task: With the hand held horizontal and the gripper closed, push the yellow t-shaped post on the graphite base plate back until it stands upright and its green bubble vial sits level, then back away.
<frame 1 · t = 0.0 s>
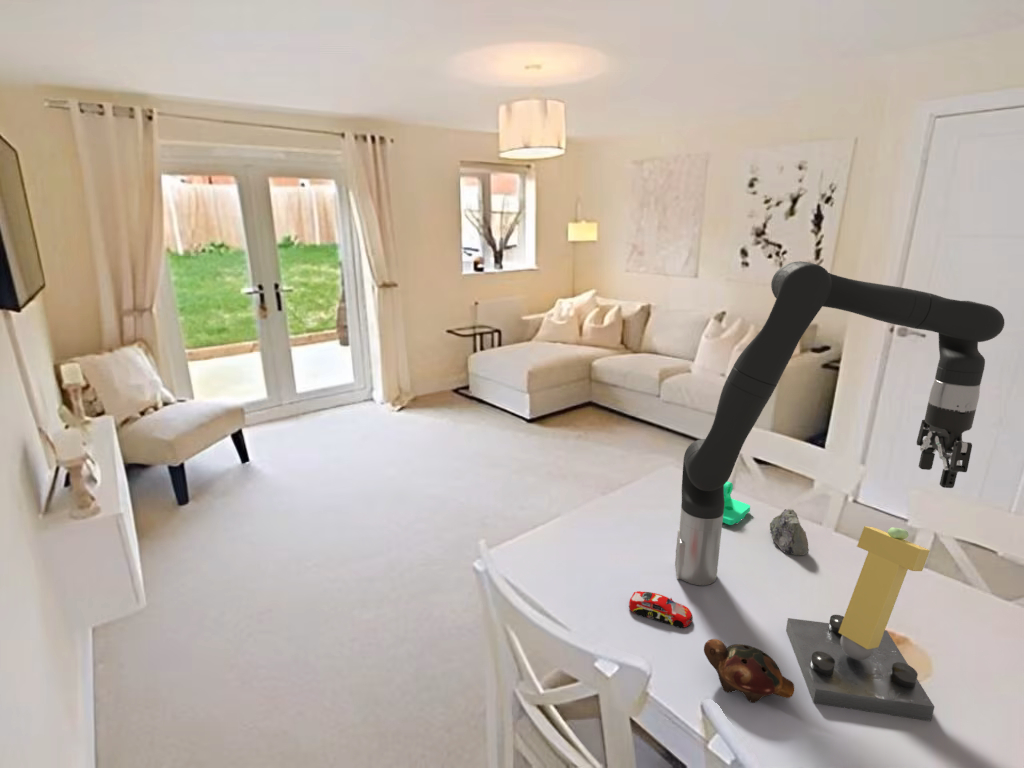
hand: (935, 477, 112), 29 cm above the table, tool pointing down, fingers open, 8 cm apart
yellow t-shaped post: (875, 593, 99), point 15 cm above the table, hinge at 22.0°
camera mount: (728, 516, 155), on the table
mineral rock: (787, 542, 142), on the table
race car: (659, 615, 116), on the table
decorative turtle: (744, 689, 98), on the table
tribrach base: (851, 671, 101), on the table
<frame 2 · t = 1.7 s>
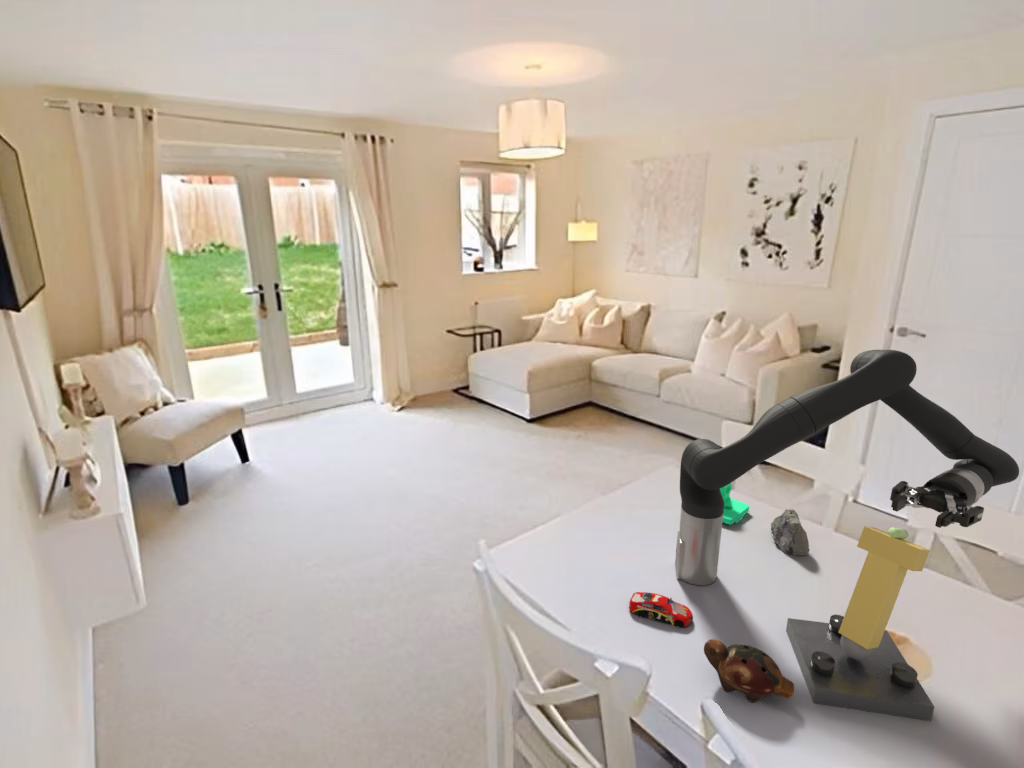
hand: (916, 514, 101), 28 cm above the table, tool horizontal, fingers open, 6 cm apart
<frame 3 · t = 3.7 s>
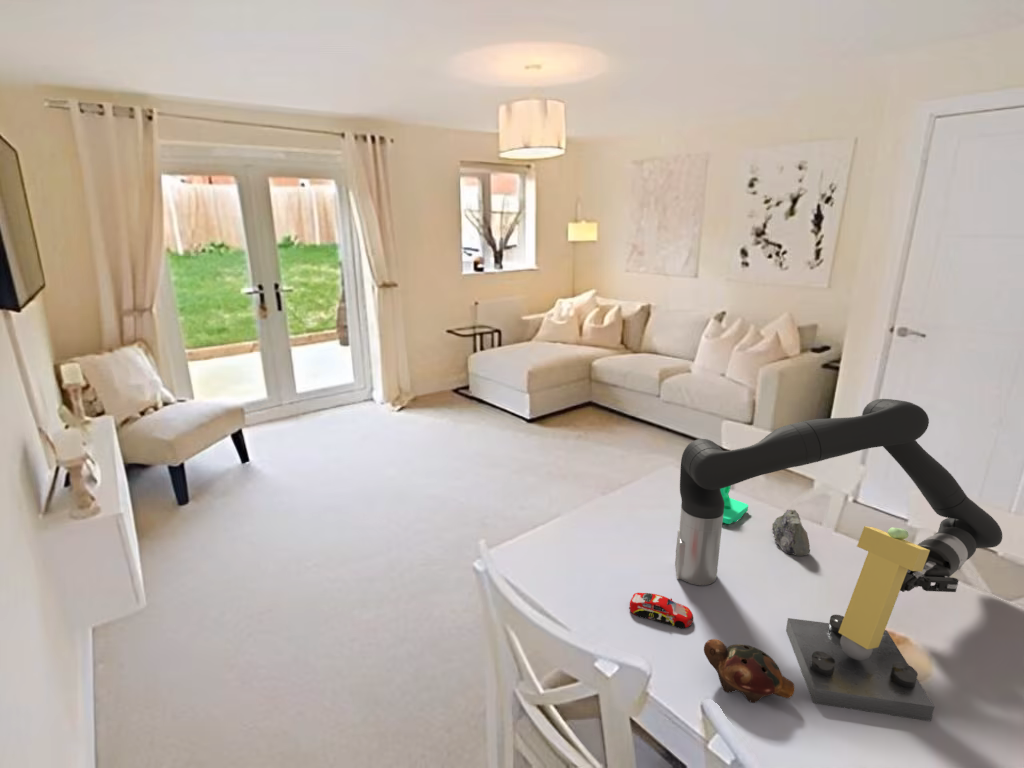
hand: (899, 586, 105), 13 cm above the table, tool horizontal, fingers closed
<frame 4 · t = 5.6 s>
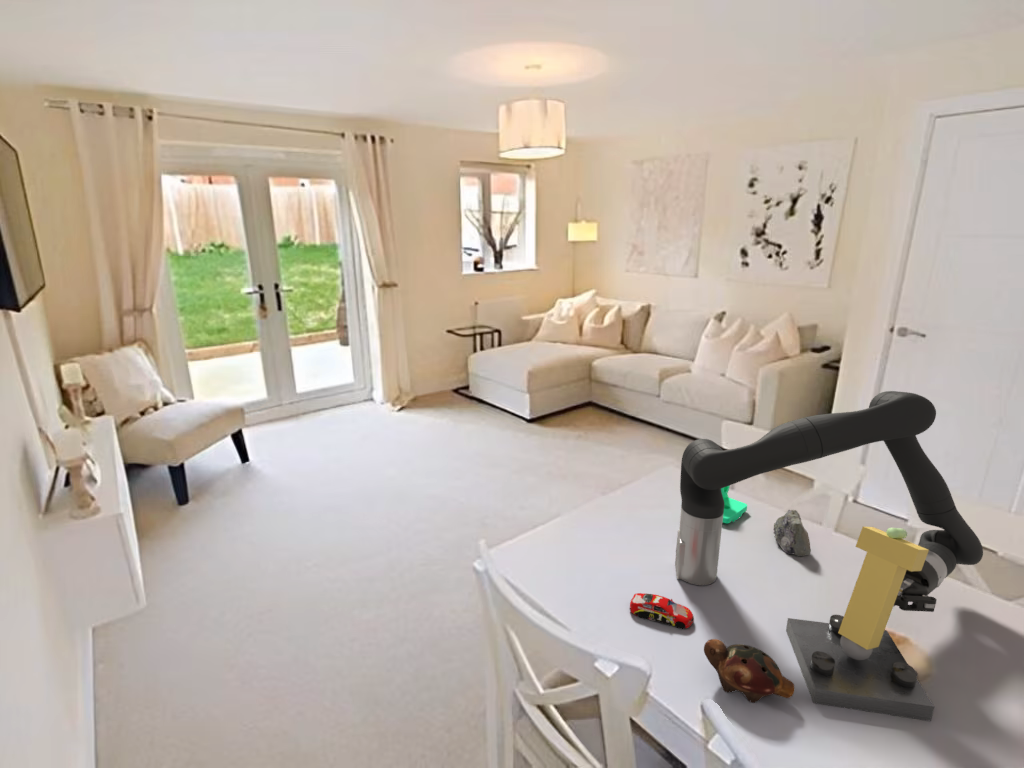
hand: (876, 605, 100), 12 cm above the table, tool horizontal, fingers closed
yellow t-shaped post: (874, 593, 98), point 15 cm above the table, hinge at 20.2°, touching gripper
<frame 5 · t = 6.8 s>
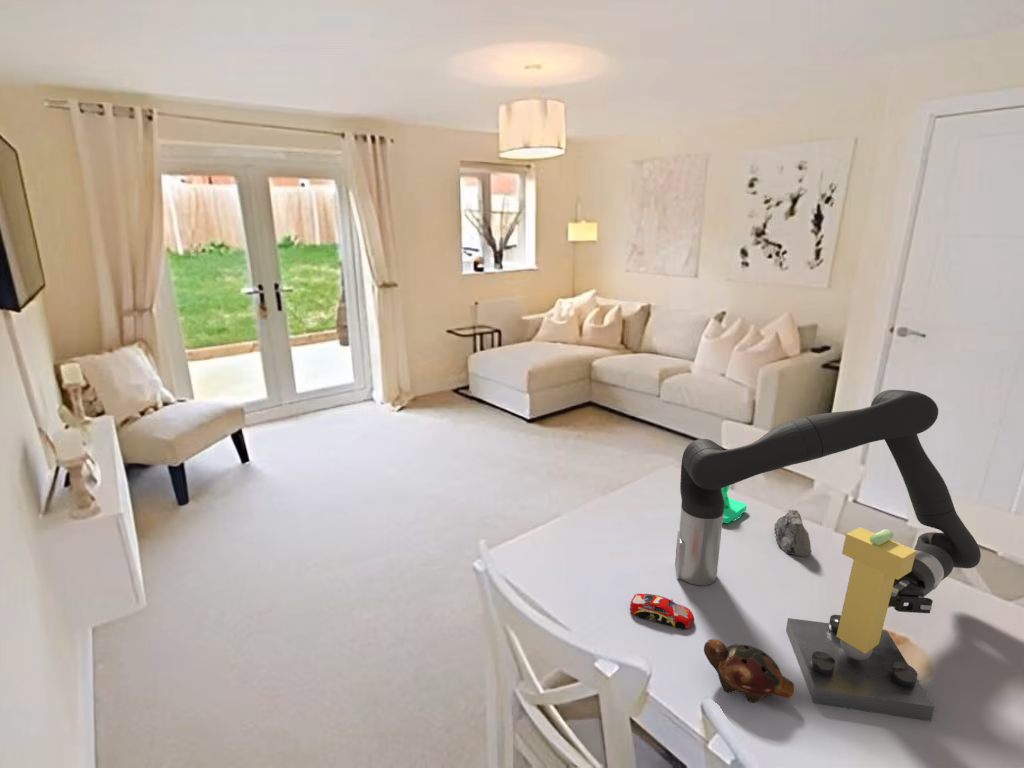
hand: (871, 605, 99), 13 cm above the table, tool horizontal, fingers closed
yellow t-shaped post: (867, 596, 97), point 16 cm above the table, hinge at 3.8°, touching gripper
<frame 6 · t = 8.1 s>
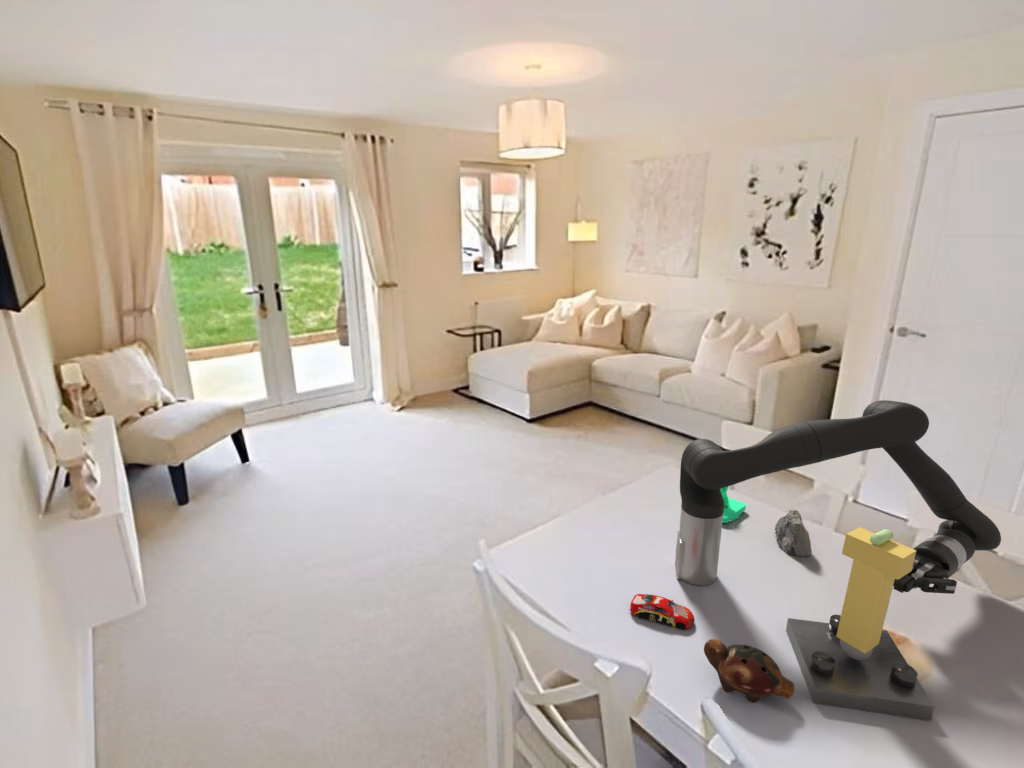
hand: (898, 586, 105), 13 cm above the table, tool horizontal, fingers closed
yellow t-shaped post: (867, 596, 97), point 16 cm above the table, hinge at 3.8°
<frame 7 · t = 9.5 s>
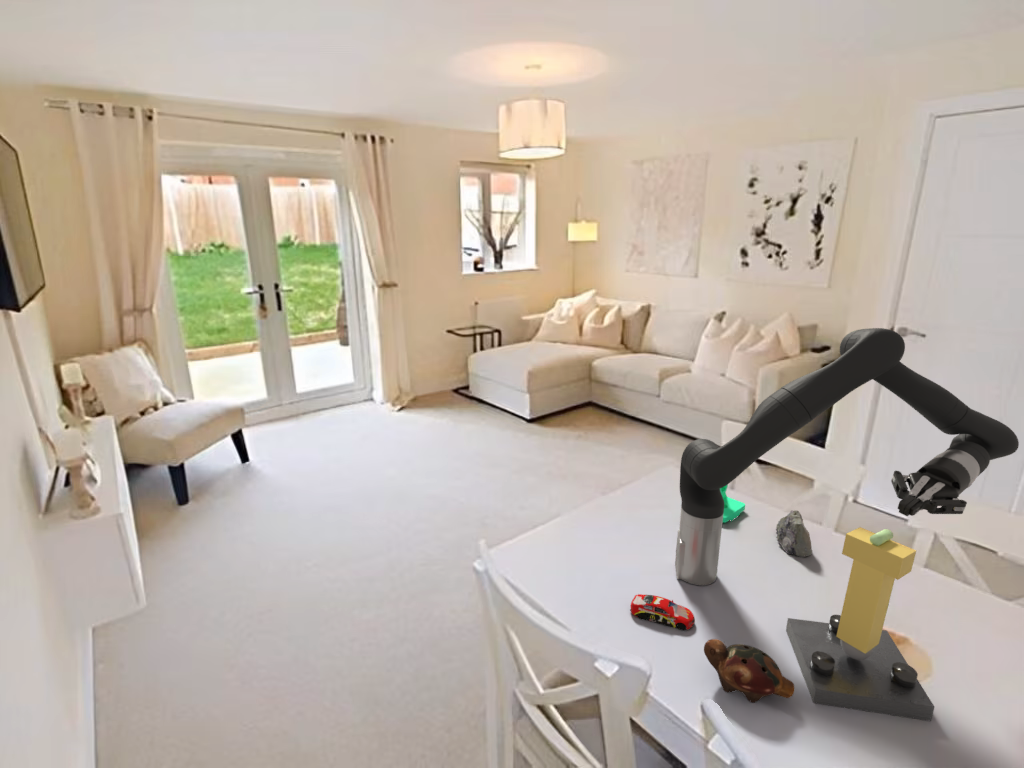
hand: (904, 510, 101), 29 cm above the table, tool horizontal, fingers closed
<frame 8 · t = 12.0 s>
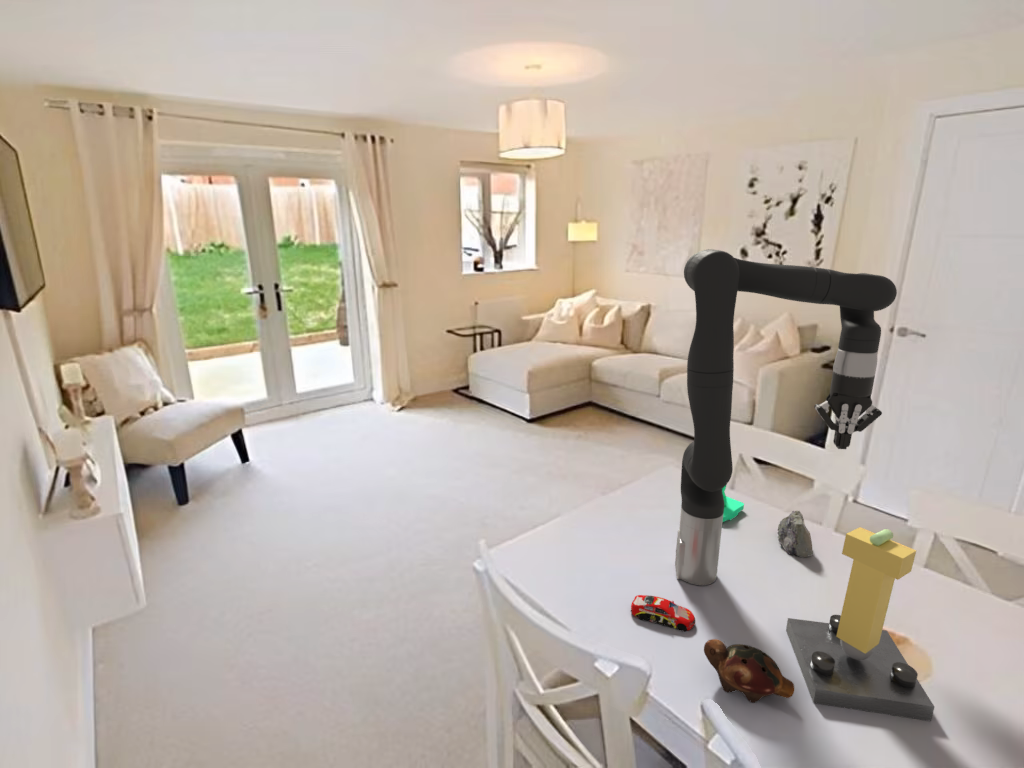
hand: (840, 447, 118), 33 cm above the table, tool pointing down, fingers closed
at the end: yellow t-shaped post at +4° (first picture: +22°); decorative turtle moved 0.3 cm from its start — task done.
